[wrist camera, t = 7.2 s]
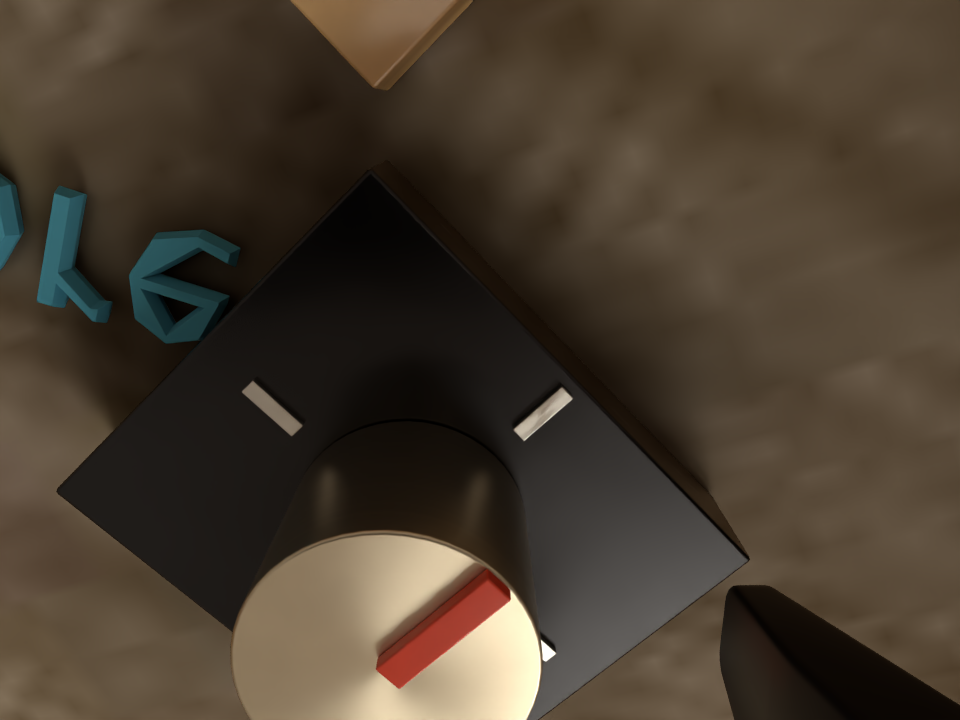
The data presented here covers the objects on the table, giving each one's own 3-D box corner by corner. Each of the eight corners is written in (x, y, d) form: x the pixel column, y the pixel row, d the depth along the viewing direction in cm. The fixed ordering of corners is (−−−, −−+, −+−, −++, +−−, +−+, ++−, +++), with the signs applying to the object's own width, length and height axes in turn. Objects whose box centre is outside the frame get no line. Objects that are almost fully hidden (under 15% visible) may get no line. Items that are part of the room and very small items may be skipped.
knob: (408, 665, 18) (386, 852, 13) (242, 524, 17) (156, 677, 12) (574, 531, 17) (610, 687, 12) (409, 371, 16) (382, 477, 11)
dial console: (712, 497, 20) (754, 564, 17) (443, 709, 22) (438, 802, 19) (387, 158, 17) (368, 168, 14) (114, 436, 19) (49, 496, 16)
